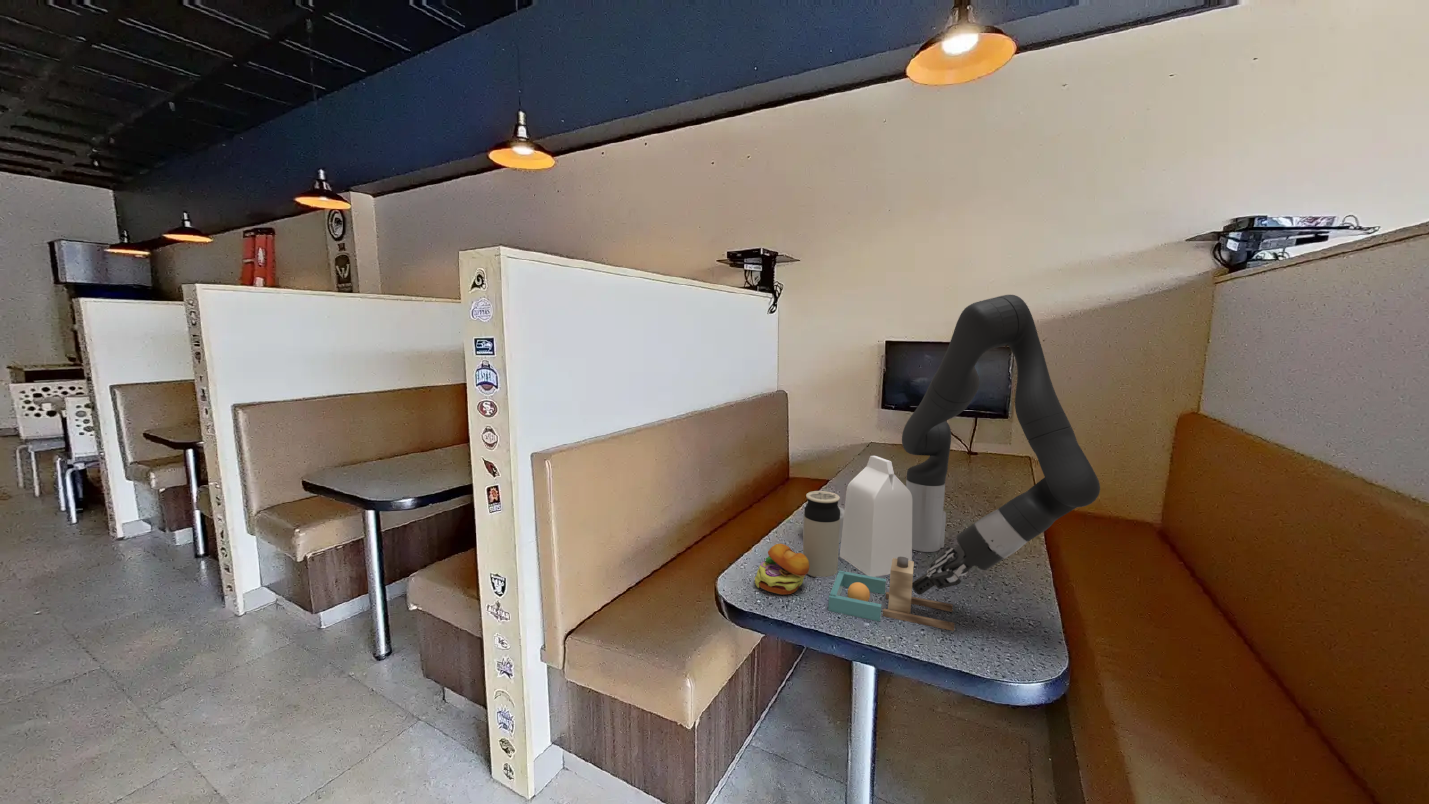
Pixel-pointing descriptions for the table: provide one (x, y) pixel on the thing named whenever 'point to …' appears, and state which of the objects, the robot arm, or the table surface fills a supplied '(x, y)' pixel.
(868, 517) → the milk
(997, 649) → the table surface
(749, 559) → the table surface
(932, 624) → the channel
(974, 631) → the table surface
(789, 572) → the cheeseburger
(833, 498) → the travel mug
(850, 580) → the teal u-shaped frame
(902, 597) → the tan rectangular block
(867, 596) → the ball
